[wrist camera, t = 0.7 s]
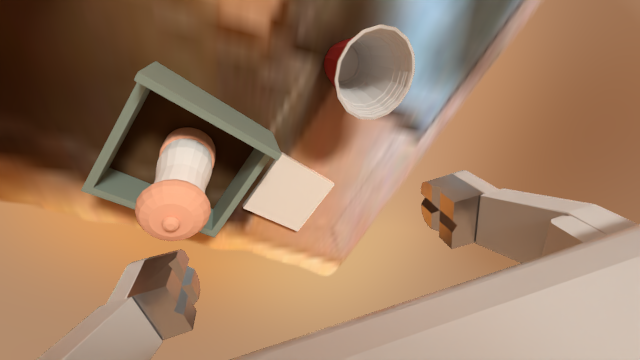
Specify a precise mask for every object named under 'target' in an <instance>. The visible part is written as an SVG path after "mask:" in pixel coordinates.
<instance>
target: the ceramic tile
mask: <svg viewBox="0 0 640 360" xmlns="http://www.w3.org/2000/svg"><path fill="white" fill-rule="evenodd" d="M281 154H282V155H281V157H280V158H279V160H278V161H277V160H276V159H275V160H274V162H273V163H272V165H271V166H270V167H269V169H268V170H267V172H266V173H265V174H264V176H263V177H262V179H261V180H260V182H259V183H258V184H257V186H256V187H255V189H254V190H253V191H252V193H251V194H250V196H249V197H248V198H247V200H246V201H245V203H244V204H243V208H244V209H246V210H248V211H251V212H253V213H255V214H258V215H260V216H262V217H265V218H267V219H269V220H272V221H274V222H276V223H279V224H281V225H283V226H286V227H288V228H291V229H293V230H295V231H299V229H300V228H301V227H302V225H303V224H304V223H305V222H306V220H307V219H308V218H309V217H310V215H311V214H312V213H313V212H314V210H315V209H316V208H317V206H318V205H319V204H320V203H321V201H322V200H323V199H324V198H325V196H326V195H327V194H328V193H329V191H330V190H331V189H332V187H333V186H334V185H335V184H334V183H333V182H332V181H331V180H329V179H327V178H325V177H324V176H322V175H320V174H319V173H317V172H315V171H313V170H312V169H310V168H308V167H307V166H305V165H303V164H301V163H300V162H298V161H296V160H295V159H293V158H291V157H289V156H288V155H286V154H284V153H283V152H281Z"/></svg>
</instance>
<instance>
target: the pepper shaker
mask: <svg viewBox="0 0 640 360" xmlns="http://www.w3.org/2000/svg"><path fill="white" fill-rule="evenodd" d="M214 163H215V145H214V143H213V141H212V139H211V138H210V137H209V136H208V135H207V134H206V133H204V132H203V131H201V130H199V129H195V128H192V127H183V128H179V129H176V130H174V131H173V132H171V133H170V134H169V135H168V136H167V137H166V139H165V140H164V142H163V145H162V147H161V149H160V153H159V159H158V161H157V166H156V179H155V182H154V184H152V185H151V186H149V187H148V188H146V189H145V190H143V191H142V192H141V194H140V195H139V197H138V198H137V200H136V206H135V214H136V218H137V222H138V223H139V224H140V226H141V227H142V228H143V230H145V231H146V232H147V233H149V234H150V235H151V236H153V237H156V238H158V239H161V240H167V241H177V240H183V239H186V238H189V237H191V236H193V235H195V234H196V233H198V232H199V231H201V230H202V228H203V227H204V226H205V225H206V223H207V221H208V220H209V216H210V213H211V208H210V202H209V200H208V199H207V197H206V195H205V189H206V187H207V185H208V182H209V180H210V177H211V174H212V169H213V167H214Z"/></svg>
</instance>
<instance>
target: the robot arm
mask: <svg viewBox="0 0 640 360" xmlns="http://www.w3.org/2000/svg"><path fill="white" fill-rule="evenodd" d="M421 194H422V195H423V196H424V197H425V199H424V200H423V202H422V204H421V208H422V214H423V217H424V220H425V222H426V223H427V225H428V226H429V227H430V228H431V229H434V230H436V231H439V237H440V238H441V239H442V240H443V241H444V242H445V243H446V244H447V245H448V246H449V247H450V248H451V249H453V248H457V247H460V246H464V245H467V244H471V243H475V242H476V244H478V245H480V246H483V247H485V248H487V249H490V250H492V251H494V252H497V253H499V254H501V255H503V256H506V257H508V258H510V259H513V260H515V261H517V262H520V263H521V264H518V265H515V266H512V267H509V268H506V269H503V270H500V271H497V272H494V273H491V274H488V275H485V276H482V277H479V278H476V279H473V280H470V281H466V282H464V283H460V284H457V285H454V286H451V287H448V288H445V289H442V290H439V291H436V292H433V293H430V294H427V295H424V296H421V297H418V298H415V299H412V300H408V301H405V302H402V303H399V304H397V305H393V306H390V307H387V308H384V309H381V310H378V311H375V312H372V313H369V314H366V315H363V316H360V317H357V318H354V319H351V320H348V321H345V322H342V323H339V324H336V325H333V326H330V327H327V328H324V329H321V330H318V331H315V332H312V333H309V334H306V335H303V336H300V337H297V338H294V339H291V340H288V341H285V342H281V343H279V344H276V345H273V346H269V347H266V348H263V349H260V350H257V351H254V352H251V353H249V354H245V355H242V356H239V357H236V358H233V359H230V360H640V224H636V223H634V222H632V221H630V220H628V219H625V218H623V217H621V216H619V215H617V214H615V213H613V212H611V211H608V210H606V209H604V208H602V207H600V206H598V205H595V204H590V203H584V202H579V201H573V200H567V199H561V198H555V197H549V196H544V195H538V194H532V193H526V192H520V191H515V190H510V189H500V190H499V189H497V188H495V187H494V186H492V185H491V184H489V183H487V182H485V181H484V180H482V179H480V178H478V177H477V176H475V175H473V174H471V173H470V172H468V171H463V170H462V171H458V172H455V173H452V174H449V175H446V176H443V177H440V178H436V179H433V180H430V181H427V182H423V183H422V186H421ZM188 261H189V258H188V257H187V255H186V253H185V251H183V250H177V251H173V252H169V253H165V254H161V255H157V256H153V257H149V258H145V259H142V260H138V261H135V262H132V263H130V264H128V265H127V267H126V269H125V270H124V272H123V274H122V276H121V278H120V279H119V281H118V283H117V285H116V287H115V288H114V290H113V292H112V294H111V296H110V298H109V299H108V301H107V303H106V305H102V306H100V307H98V308H97V309H96V310H95V311H93V312H92V313H91V314H90V315H89V316H87V317H86V318H85V319H84V320H83V321H82V322H80V323H79V324H78V325H77V326H76V327H74V328H73V329H72V330H71V331H70V332H68V333H67V334H66V335H65V336H64V337H62V338H61V339H60V340H59V341H58V342H56V343H55V344H54V345H53V346H52V347H51V348H49V349H48V350H47V351H46V352H44V353H43V354H42V355H41V356H40V357H39V358H37V359H36V360H150V359H151V358H152V356H153V355H154V354H155V352H156V351H157V349H158V348H159V346H160V345H161V344H162V342H163V341H162V340H165V339H167V338H171V337H173V336H176V335H179V334H182V333H185V332H188V331H191V330H192V329H193V325H194V320H195V316H196V309H195V308H194V306H193V305H194V304H195V302H197V300H198V299H199V294H200V284H199V279H198V276H197V274H196V271H195V270H194V269H192V268H190V267H189V266H187V265H188Z"/></svg>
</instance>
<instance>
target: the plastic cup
mask: <svg viewBox="0 0 640 360" xmlns="http://www.w3.org/2000/svg"><path fill="white" fill-rule="evenodd" d="M324 68H325V73H326V75H327V76H328V78H329V80H330V81H331V83H332V84H333V86H334V87H335V89H336V92H337V97H338V99H339V101H340V102H341V104H342V105H343V107H344V108H345V110H346V111H347V112H348V113H350V114H352V115H353V116H355V117H357V118H358V119H371V120H374V119H376V118H379V117H382V116H384V115H387V114H389V113H390V112H391V111H392V110H393V109H394V108H396V107H397V106H398V105H399V104H400V103H401V102H402V100H403V98H404V97H405V95H406V94H407V92H408V91H409V89H410V86H411V83H412V79H413V76H414V72H415V59H414V52H413V49H412V47H411V44H410V42H409V39H408V38H407V37H406V36H405V35H404V34H403V33H402V32H401V31H400V30H399V29H397V28H396V27H391V26H386V25H382V24H380V25H376V26H373V27H370V28H367V29H364V30H362V31H361V32H359V33H358V34H357V35H356V36H354V37H353V38H350V39H347V40H343V41H340V42H339V43H336V44H335V45H333V46H332V47H331V48H330V49H329V50H328V52H327V54H326V56H325V61H324Z"/></svg>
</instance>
